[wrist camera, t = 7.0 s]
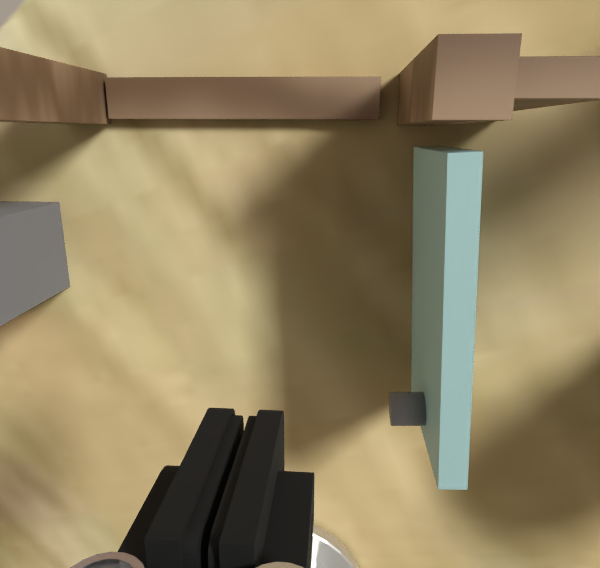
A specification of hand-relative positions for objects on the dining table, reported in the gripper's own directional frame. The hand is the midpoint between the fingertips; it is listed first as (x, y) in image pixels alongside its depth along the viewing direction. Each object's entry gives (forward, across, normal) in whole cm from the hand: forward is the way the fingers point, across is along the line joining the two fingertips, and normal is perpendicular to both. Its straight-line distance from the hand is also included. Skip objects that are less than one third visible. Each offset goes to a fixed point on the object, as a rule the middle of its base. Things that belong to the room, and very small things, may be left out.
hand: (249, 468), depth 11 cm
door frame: (+18, +1, -9) cm, 20 cm away
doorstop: (+18, +16, -1) cm, 24 cm away
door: (+17, -6, 0) cm, 18 cm away
